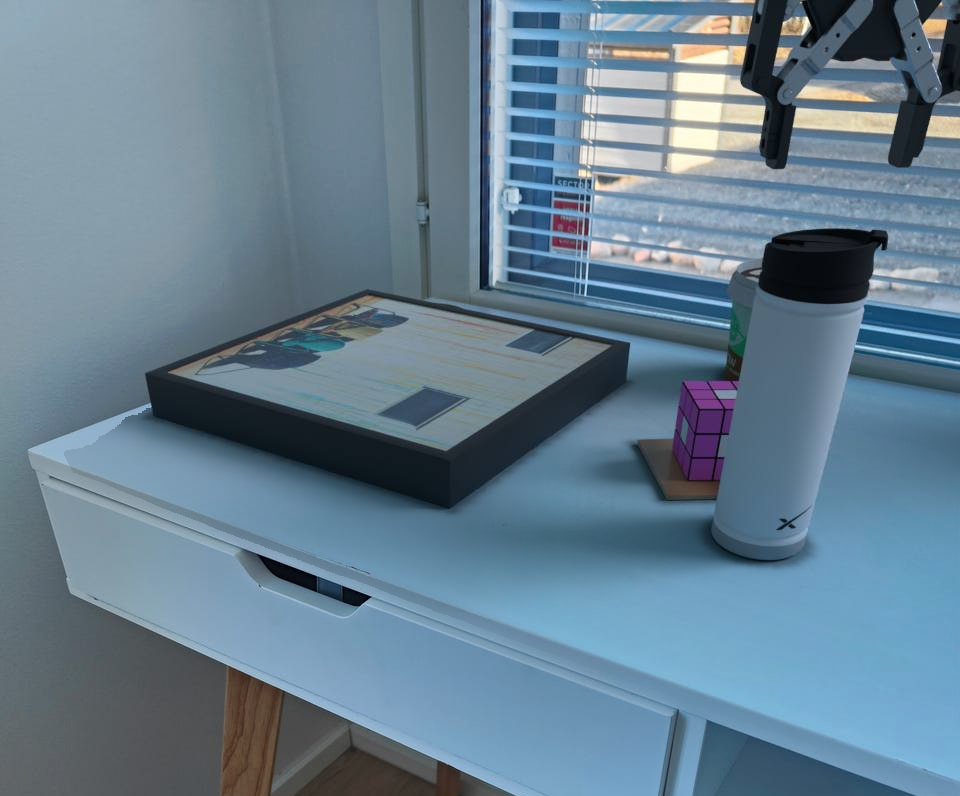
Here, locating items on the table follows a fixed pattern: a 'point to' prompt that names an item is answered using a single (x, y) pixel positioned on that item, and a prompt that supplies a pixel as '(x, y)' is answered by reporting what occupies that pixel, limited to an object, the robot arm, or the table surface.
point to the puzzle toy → (703, 427)
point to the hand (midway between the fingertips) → (837, 166)
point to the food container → (741, 313)
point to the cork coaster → (674, 472)
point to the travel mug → (791, 386)
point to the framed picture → (394, 390)
